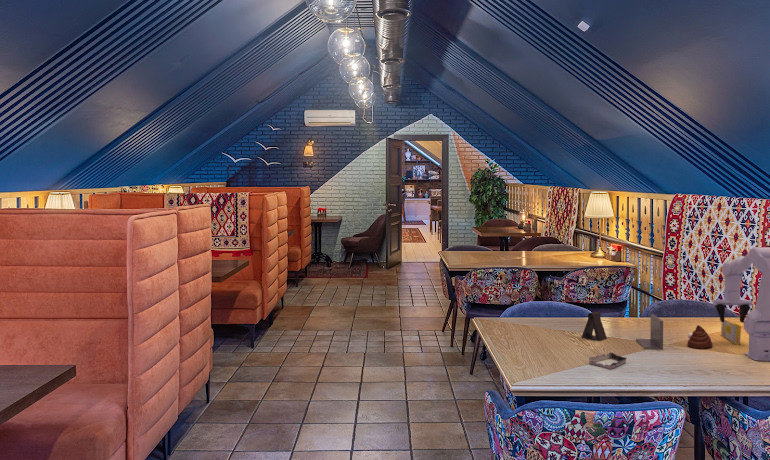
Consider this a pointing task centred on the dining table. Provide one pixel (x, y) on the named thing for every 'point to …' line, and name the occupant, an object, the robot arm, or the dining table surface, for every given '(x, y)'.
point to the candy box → (731, 331)
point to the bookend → (654, 335)
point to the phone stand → (594, 327)
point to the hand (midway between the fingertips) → (732, 321)
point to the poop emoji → (699, 339)
